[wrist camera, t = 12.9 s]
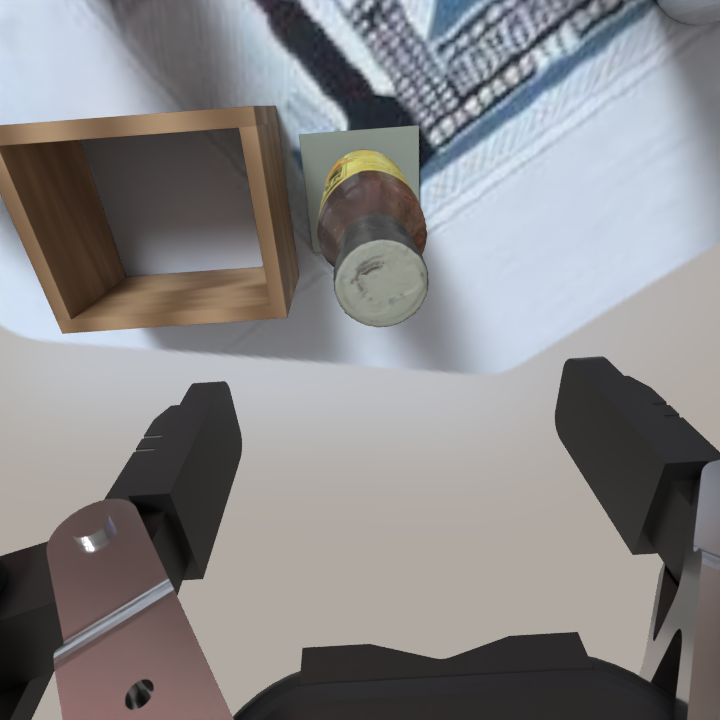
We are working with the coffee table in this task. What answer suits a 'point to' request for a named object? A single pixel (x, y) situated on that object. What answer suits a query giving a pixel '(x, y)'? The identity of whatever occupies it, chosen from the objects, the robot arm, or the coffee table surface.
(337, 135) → the pad
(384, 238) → the sauce bottle
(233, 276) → the crate
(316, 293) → the coffee table surface
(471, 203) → the coffee table surface
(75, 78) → the coffee table surface
